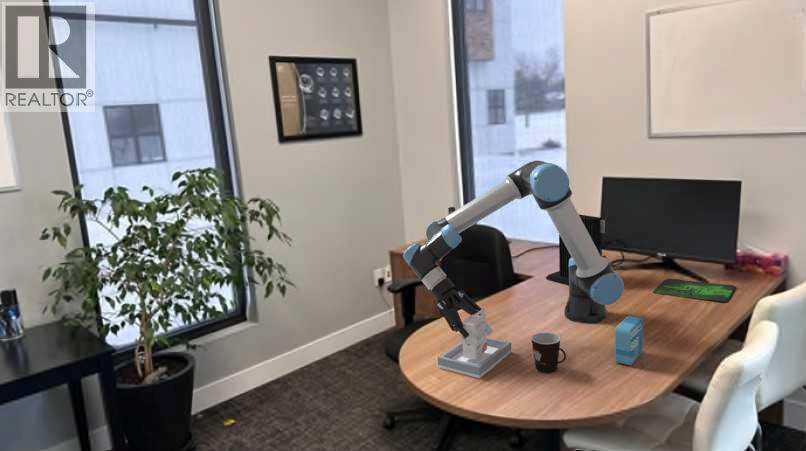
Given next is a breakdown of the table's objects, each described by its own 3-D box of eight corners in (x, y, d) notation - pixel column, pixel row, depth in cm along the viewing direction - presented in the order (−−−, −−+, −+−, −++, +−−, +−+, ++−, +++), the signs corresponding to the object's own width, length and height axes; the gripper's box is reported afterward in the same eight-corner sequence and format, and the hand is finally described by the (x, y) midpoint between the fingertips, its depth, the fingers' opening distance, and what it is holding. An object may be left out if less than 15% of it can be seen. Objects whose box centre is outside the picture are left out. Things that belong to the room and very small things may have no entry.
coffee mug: (528, 363, 179) (527, 334, 177) (555, 361, 180) (554, 331, 178) (540, 381, 168) (539, 349, 166) (568, 378, 169) (568, 346, 167)
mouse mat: (651, 294, 233) (651, 291, 233) (665, 279, 250) (665, 276, 250) (727, 304, 216) (727, 302, 216) (736, 287, 233) (736, 285, 233)
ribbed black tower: (627, 284, 246) (627, 215, 240) (599, 294, 236) (599, 223, 230) (570, 270, 271) (569, 207, 265) (543, 279, 261) (541, 214, 255)
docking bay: (511, 352, 188) (511, 342, 188) (479, 378, 172) (479, 367, 172) (472, 343, 198) (471, 333, 197) (438, 367, 181) (437, 357, 181)
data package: (629, 367, 173) (630, 330, 170) (614, 363, 176) (614, 327, 173) (642, 352, 182) (643, 317, 179) (628, 349, 184) (628, 314, 182)
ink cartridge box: (473, 347, 189) (471, 305, 186) (487, 349, 187) (485, 307, 184) (462, 357, 182) (459, 314, 179) (476, 360, 180) (474, 316, 177)
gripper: (450, 281, 198) (492, 333, 192) (413, 300, 182) (458, 357, 175) (462, 268, 194) (506, 321, 187) (425, 287, 177) (472, 345, 171)
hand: (483, 338), depth 181 cm, fingers closed on ink cartridge box, 9 cm apart
